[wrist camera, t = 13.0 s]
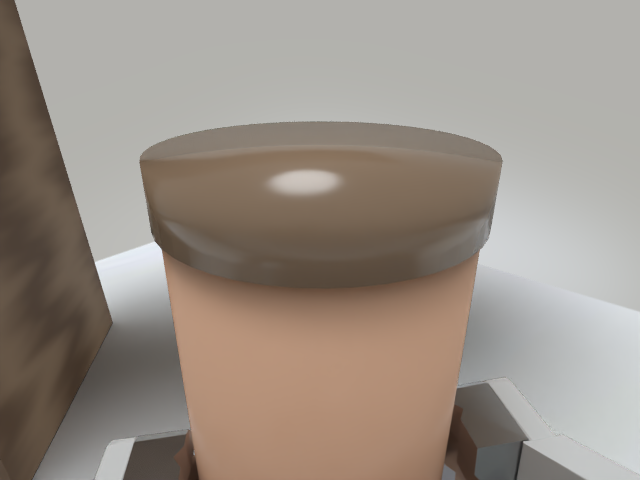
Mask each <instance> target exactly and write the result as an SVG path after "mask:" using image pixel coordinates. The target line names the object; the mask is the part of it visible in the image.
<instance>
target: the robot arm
mask: <svg viewBox="0 0 640 480" xmlns="http://www.w3.org/2000/svg"><path fill="white" fill-rule="evenodd" d="M193 452H194V446H193V440H192V433H191V430H189V429H187V430H180V431H173V432H165V433H158V434H151V435H143V436H138V437H133V438H125V439H118V440H112V441H111V442H110V443H109V444H108V446H107V447H106V449H105V451H104V454H103V457H102V459H101V462H100V465H99V467H98V470H97V473H96V475H95V478H94V480H199V477H198V471H197V464H196V458H195V456H194V455H193ZM444 463H445V465H446V466H447V467H449V468H450V469H452V470H453V471H455V472H456V473H455V480H640V475H639V474H637V473H635V472H633V471H631V470H629V469H627V468H625V467H623V466H622V465H620V464H618V463H616V462H614V461H612V460H610V459H608V458H606V457H604V456H603V455H601V454H599V453H597V452H595V451H593V450H591V449H589V448H587V447H586V446H584V445H582V444H580V443H578V442H576V441H574V440H572V439H570V438H568V437H567V436H565V435H558V436H556V435H555V434H554V432H553V431H552V430H551V429H550V428H549V426H548V425H547V424H546V423H545V422H544V420H543V419H542V418H541V417H540V415H539V414H538V413H537V412H536V411H535V409H534V408H533V407H532V406H531V405H530V403H529V402H528V401H527V400H526V398H525V397H524V396H523V395H522V394H521V392H520V391H519V390H518V389H517V387H516V386H515V385H514V384H513V383H512V381H511V380H510V379H508V378H506V377H503V378H497V379H491V380H485V381H482V382H481V381H480V382H474V383H468V384H462V385H457V390H456V396H455V402H454V408H453V414H452V420H451V426H450V432H449V438H448V444H447V450H446V456H445V462H444Z"/></svg>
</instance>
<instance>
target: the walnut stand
mask: <svg viewBox="0 0 640 480" xmlns="http://www.w3.org/2000/svg"><path fill="white" fill-rule="evenodd" d="M112 323H113V322H112V318H111V315H110V312H109V309H108V305H107V302H106V299H105V295H104V292H103V289H102V286H101V282H100V279H99V276H98V273H97V269H96V266H95V263H94V259H93V256H92V253H91V250H90V247H89V243H88V240H87V237H86V233H85V230H84V227H83V224H82V220H81V217H80V214H79V211H78V207H77V204H76V201H75V197H74V194H73V191H72V187H71V184H70V181H69V178H68V174H67V171H66V168H65V165H64V161H63V158H62V155H61V151H60V148H59V145H58V142H57V138H56V135H55V132H54V129H53V125H52V122H51V119H50V115H49V112H48V109H47V106H46V102H45V99H44V96H43V92H42V90H41V86H40V83H39V80H38V76H37V73H36V70H35V67H34V63H33V60H32V57H31V53H30V50H29V47H28V43H27V40H26V37H25V34H24V30H23V27H22V24H21V20H20V17H19V14H18V11H17V7H16V4H15V1H14V0H0V480H32V478H33V476H34V474H35V472H36V470H37V469H38V467H39V465H40V463H41V461H42V459H43V457H44V455H45V453H46V451H47V449H48V447H49V445H50V443H51V441H52V439H53V437H54V436H55V434H56V432H57V430H58V428H59V426H60V424H61V422H62V420H63V418H64V416H65V414H66V412H67V410H68V408H69V406H70V404H71V403H72V401H73V399H74V397H75V395H76V393H77V391H78V389H79V387H80V385H81V383H82V381H83V379H84V377H85V375H86V373H87V371H88V370H89V368H90V366H91V364H92V362H93V360H94V358H95V356H96V354H97V352H98V350H99V348H100V346H101V344H102V342H103V340H104V338H105V337H106V335H107V333H108V331H109V329H110V327H111V325H112Z"/></svg>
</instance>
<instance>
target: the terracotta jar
mask: <svg viewBox="0 0 640 480" xmlns="http://www.w3.org/2000/svg"><path fill="white" fill-rule="evenodd" d="M501 167H502V158H501V155H500V154H499V153H498V152H497V151H496V150H494V149H492V148H491V147H490V146H488V145H485V144H483V143H481V142H478V141H475V140H473V139H470V138H466V137H462V136H459V135H455V134H450V133H446V132H441V131H435V130H429V129H423V128H416V127H407V126H399V125H389V124H376V123H359V122H280V123H263V124H250V125H241V126H233V127H232V126H231V127H223V128H217V129H210V130H204V131H199V132H194V133H189V134H185V135H181V136H177V137H174V138H171V139H168V140H165V141H162V142H160V143H157V144H155V145H153V146H151V147H150V148H148V149H147V150H145V151H144V152H143V154H142V155H141V156H140V168H141V173H142V179H143V185H144V191H145V197H146V203H147V209H148V215H149V221H150V227H151V233H152V235H153V237H154V240H155V242H156V243H157V244H158V245H159V246H160V248H161V249H162V253H163V260H164V266H165V272H166V278H167V284H168V291H169V297H170V303H171V309H172V315H173V322H174V328H175V334H176V340H177V347H178V353H179V359H180V365H181V371H182V378H183V384H184V390H185V396H186V402H187V409H188V415H189V421H190V427H191V433H192V440H193V446H194V452H195V458H196V464H197V471H198V477H199V480H442V474H443V468H444V462H445V456H446V450H447V444H448V438H449V432H450V426H451V420H452V414H453V408H454V402H455V396H456V390H457V384H458V378H459V372H460V366H461V360H462V354H463V347H464V341H465V335H466V329H467V323H468V317H469V311H470V305H471V299H472V293H473V287H474V281H475V275H476V269H477V263H478V257H479V251H480V249H481V248H482V247H483V246H484V244H485V243H486V241H487V240H488V238H489V234H490V230H491V224H492V219H493V213H494V207H495V201H496V195H497V190H498V184H499V179H500V173H501Z"/></svg>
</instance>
